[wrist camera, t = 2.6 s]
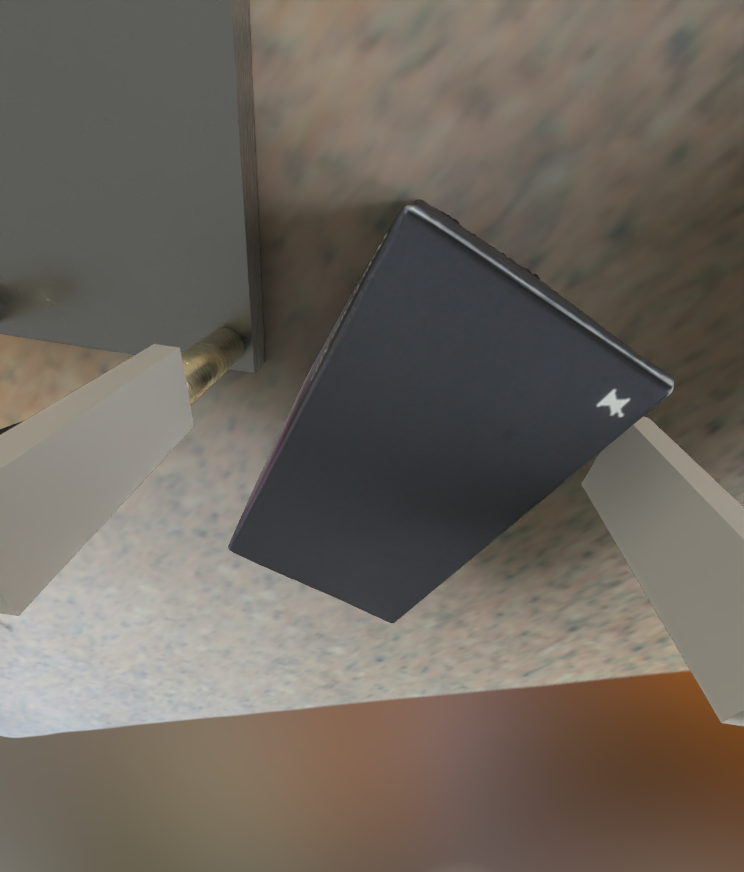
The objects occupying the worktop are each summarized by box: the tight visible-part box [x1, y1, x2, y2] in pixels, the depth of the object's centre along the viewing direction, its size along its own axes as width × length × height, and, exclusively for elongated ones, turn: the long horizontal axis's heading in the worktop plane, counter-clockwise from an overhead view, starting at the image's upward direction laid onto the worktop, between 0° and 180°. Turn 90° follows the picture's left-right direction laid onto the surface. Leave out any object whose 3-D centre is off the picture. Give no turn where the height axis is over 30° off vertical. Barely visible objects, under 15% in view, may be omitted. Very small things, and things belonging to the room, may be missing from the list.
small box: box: [228, 200, 674, 623], centre depth 13 cm, size 11×6×10 cm, turn 151°
